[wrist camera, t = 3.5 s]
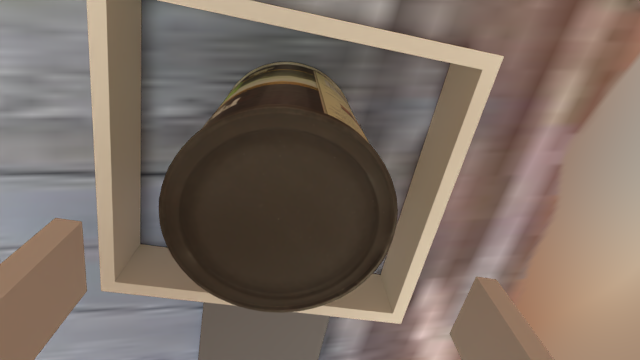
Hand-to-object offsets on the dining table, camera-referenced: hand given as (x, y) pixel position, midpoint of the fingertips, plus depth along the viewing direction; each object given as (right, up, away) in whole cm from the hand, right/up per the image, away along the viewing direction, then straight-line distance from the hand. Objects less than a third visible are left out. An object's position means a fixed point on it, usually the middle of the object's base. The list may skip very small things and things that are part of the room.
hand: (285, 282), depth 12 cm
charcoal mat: (-5, -12, +25) cm, 28 cm away
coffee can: (-1, +7, +16) cm, 18 cm away
